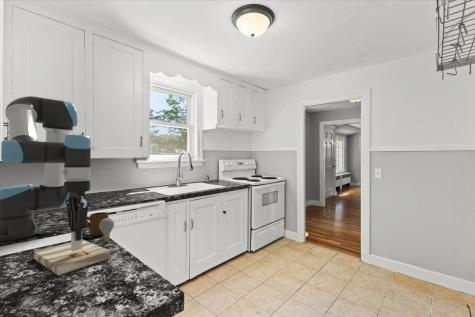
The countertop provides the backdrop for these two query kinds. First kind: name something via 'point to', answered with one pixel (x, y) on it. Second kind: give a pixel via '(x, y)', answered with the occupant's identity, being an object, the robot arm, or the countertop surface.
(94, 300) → the countertop surface
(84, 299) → the countertop surface
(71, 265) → the wooden board with hole
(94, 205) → the countertop surface
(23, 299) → the countertop surface
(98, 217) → the mug
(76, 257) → the ball
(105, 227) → the light bulb
